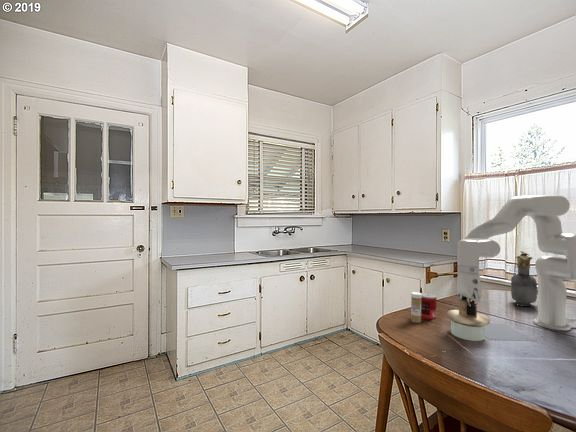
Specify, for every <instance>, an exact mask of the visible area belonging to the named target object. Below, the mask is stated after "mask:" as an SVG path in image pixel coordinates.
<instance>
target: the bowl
mask: <svg viewBox="0 0 576 432" xmlns="http://www.w3.org/2000/svg"><path fill="white" fill-rule="evenodd" d="M450 333H451V334H452V335H453V336H454V337H457V338H459V339H462V340H467V341H470V342H471V341H473V342H481V341H484V340H486V337H485V325H484V326H475V325H467V324H462V323H459V322H456V321H453V320H451V319H450Z"/></svg>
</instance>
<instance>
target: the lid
mask: <svg viewBox="0 0 576 432" xmlns="http://www.w3.org/2000/svg"><path fill="white" fill-rule="evenodd" d="M471 301H473V300H471ZM467 305H468V300H460V299H459V300H458V309H450V310H447V313H446V316H447V318H448V319H450V321H451V320H453V321H456V322H459V323H462V324H467V325H475V326H484V325H488V324H489V323H491V322H490V320H491V319H490V317H489V316H488V315H485V314H482V313H479V312H478V305H477V306H476V315H475V316H469V315H467Z"/></svg>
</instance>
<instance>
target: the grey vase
mask: <svg viewBox="0 0 576 432" xmlns="http://www.w3.org/2000/svg"><path fill="white" fill-rule="evenodd" d="M515 258H516V267H517V274H514V275H512V276H511V279H510V280H511V281H510V295H511V299H512V300H513V301H515V302H514V304H515V303H516V304H518V305H523V306H531V307H532V305H533V303H536V302H537V301H538V282H537V279H536V278H535V277H533V276H531V275H530V268H531V260H533V257H532V256H530V254H529V253H527V252H525V251H522V250H520V255H517V256H515ZM516 304H515V305H516ZM518 305H517V306H518Z"/></svg>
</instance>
